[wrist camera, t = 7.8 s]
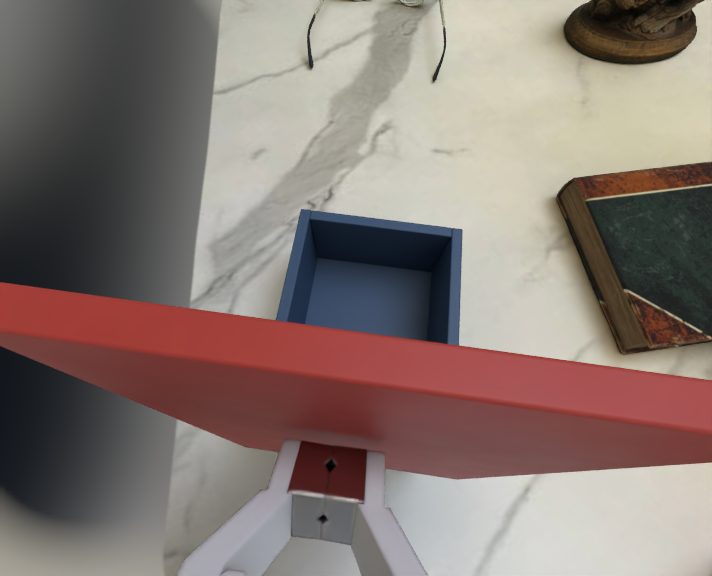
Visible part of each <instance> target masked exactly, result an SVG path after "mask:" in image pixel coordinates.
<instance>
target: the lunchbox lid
mask: <svg viewBox="0 0 712 576" xmlns="http://www.w3.org/2000/svg"><path fill="white" fill-rule="evenodd" d="M0 346H2V347H4V348H7V349H9V350H12V351H14V352H17V353H19V354H21V355H24V356H26V357H29V358H31V359H33V360H36V361H38V362H41V363H43V364H46V365H48V366H51V367H53V368H56V369H58V370H60V371H63V372H65V373H67V374H70V375H72V376H75V377H77V378H80V379H82V380H84V381H87V382H89V383H92V384H94V385H97V386H99V387H101V388H104V389H106V390H108V391H112V392H114V393H116V394H118V395H121V396H123V397H125V398H128V399H130V400H133V401H135V402H138V403H140V404H143V405H145V406H147V407H150V408H152V409H155V410H157V411H160V412H162V413H164V414H167V415H169V416H172V417H174V418H176V419H179V420H181V421H184V422H186V423H188V424H191V425H193V426H196V427H198V428H200V429H203V430H205V431H208V432H210V433H213V434H215V435H217V436H220V437H222V438H225V439H227V440H230V441H232V442H234V443H237V444H239V445H242V446H244V447H248V448H255V449H261V450H268V451H274V452H279V451H280V448H281V445H282V443H283V441H284V439H285V438H290V439H296V440H303V441H309V442H315V443H321V444H327V445H333V446H334V445H338V446H346V447H354V448H362V449H367V450H374V451H381V452H384V455H385V468H386V469H392V470H399V471H405V472H412V473H418V474H425V475H431V476H438V477H444V478H451V479H470V478H485V477H500V476H515V475H530V474H545V473H560V472H575V471H590V470H605V469H620V468H635V467H650V466H665V465H680V464H695V463H710V462H712V381H711V380H704V379H697V378H689V377H682V376H675V375H668V374H660V373H653V372H646V371H639V370H631V369H624V368H617V367H610V366H602V365H595V364H588V363H581V362H574V361H566V360H559V359H552V358H545V357H537V356H530V355H523V354H516V353H508V352H501V351H494V350H487V349H479V348H472V347H465V346H458V345H450V344H443V343H436V342H429V341H421V340H414V339H407V338H400V337H392V336H385V335H378V334H371V333H363V332H356V331H349V330H342V329H334V328H327V327H320V326H313V325H305V324H298V323H291V322H284V321H276V320H269V319H262V318H255V317H247V316H240V315H233V314H226V313H218V312H211V311H204V310H197V309H189V308H182V307H175V306H167V305H161V304H153V303H146V302H139V301H131V300H124V299H117V298H110V297H103V296H95V295H88V294H81V293H74V292H66V291H59V290H52V289H44V288H37V287H30V286H22V285H15V284H8V283H1V282H0Z"/></svg>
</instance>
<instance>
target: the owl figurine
mask: <svg viewBox="0 0 712 576" xmlns="http://www.w3.org/2000/svg"><path fill="white" fill-rule="evenodd" d="M702 1H704V0H591V1H590V2H588V3H585V4H583V5H581V6H579V7H578V8H577V9H575V10H574V11H573V12H572V13H571V15H570V16H569V18H568V19H567V21H566V24H565V27H564V29H565V33H566V37H567V38H568V40H569V42H570V43H571V44H572V45H573V46H574V47H576V49H577V50H579V51H580V52H582V53H583V54H586V55H588V56H590V57H594V58H598V59H602V60H605V61H612V62H619V63H620V62H621V63H643V62H651V61H659V60H663V59H666V58H669V57H671V56H673V55H675V54H677V53H679V52H680V51H682V50H683V49H685V48H686V47H687V46H688V45H689V44H690V43H691V42H692V40H693V39H694V38H695V36H696V32H697V26H696V16H695V14H694V13H693V11H692V8H693V7H695V6H696V4H698V3H700V2H702Z"/></svg>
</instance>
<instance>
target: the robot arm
mask: <svg viewBox="0 0 712 576" xmlns="http://www.w3.org/2000/svg"><path fill="white" fill-rule="evenodd" d="M291 536H293V537H301V538H310V539H318V540H325V541H330V542H336V543H341V544H347V545H352V546H351V548H352V550H353V553H354V556H355V558H356V561H357V564H358V566H359V569H360V572H361V574H362V576H428V574H427V572H426V571H425V569H424V567H423V565H422V564H421V562H420V560H419V558H418V557H417V555H416V553H415V551H414V550H413V548H412V546H411V544H410V543H409V541H408V539H407V537H406V536H405V534H404V532H403V530H402V529H401V527H400V525H399V523H398V522H397V520H396V518H395V516H394V515H393V513H392V511H391V509H390V508H386V507H385V455H384V452H381V451H374V450H367V449H362V448H354V447H346V446H338V445H334V446H333V445H327V444H321V443H315V442H309V441H303V440H296V439H290V438H285V439H284V441H283V443H282V445H281V448H280V451H279V454H278V457H277V460H276V463H275V466H274V469H273V472H272V475H271V478H270V481H269V484H268V487H267V490H260V491H259V492H258V493H257V494H256V495H255V496H254V497H253V498H251V499H250V500H249V501H248V502H247V503H246V504H245V505H244V506H243V507H242V508H240V509H239V510H238V511H237V512H236V513H235V514H234V515H233V516H232V517H231V518H229V519H228V520H227V521H226V522H225V523H224V524H223V525H222V526H221V527H220V528H218V529H217V530H216V531H215V532H214V533H213V534H212V535H211V536H210V537H209V538H207V539H206V540H205V541H204V542H203V543H202V544H201V545H200V546H199V547H198V548H196V549H195V550H194V551H193V552H192V553H191V554H190V555H189V556H188V557H187V558H185V559H184V561H183V563H182V565H181V567H180V569H179V572H178V574H177V576H262V575H263V574H264V572H265V571H266V570H267V568H268V567H269V566H270V565H271V563H272V562H273V561H274V559H275V558H276V557H277V556H278V554H279V553H280V552H281V550H282V549H283V548H284V547H285V545H286V544H287V543H288V542H289V540H290V539H291Z"/></svg>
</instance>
